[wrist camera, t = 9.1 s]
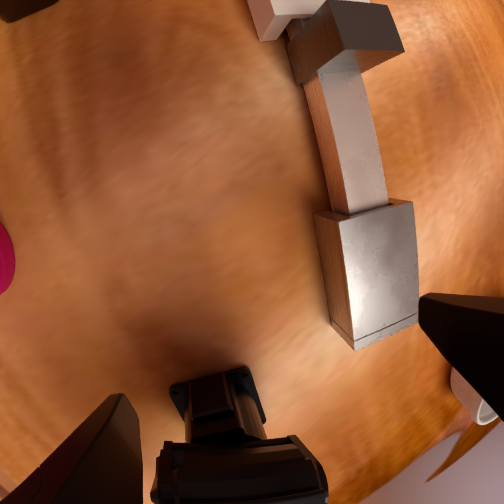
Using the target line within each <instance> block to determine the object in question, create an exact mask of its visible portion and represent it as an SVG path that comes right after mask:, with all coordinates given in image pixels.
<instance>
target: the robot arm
mask: <svg viewBox="0 0 504 504" xmlns="http://www.w3.org/2000/svg"><path fill="white" fill-rule="evenodd" d="M418 323H419V325H420V327H421V329H422V330H423V331H424V332H425V334H426V335H427V336H428V337H429V339H430V340H431V341H432V342H433V344H434V345H435V346H436V348H437V349H438V350H439V351H440V353H441V354H442V355H443V356H444V358H445V359H446V360H447V361H448V362H449V363H450V364H451V365H452V366H453V367H454V368H455V369H456V370H457V372H458V373H459V374H460V375H461V376H462V377H463V378H464V379H465V380H466V381H467V382H468V383H469V384H470V385H471V386H472V388H473V389H474V390H475V391H476V392H477V393H478V394H479V395H480V396H481V397H482V398H483V400H484V401H485V402H486V403H487V404H488V405H489V406H490V407H491V408H492V410H493V411H494V412H495V413H496V414H497V415H498V416H499V417H500V419H501V420H502V421H503V422H504V298H503V297H487V296H472V295H457V294H444V293H427V294H425V295H423V296H421V297H420V298H419V300H418ZM243 372H247V373H246V374H242V373H243ZM174 390H177V391H178V392H174ZM169 394H170V396H171V398H172V400H173V402H174V404H175V406H176V408H177V410H178V411H179V413H180V415H181V417H182V419H183V421H184V422H185V440H186V443H173V442H172V441H164V446H163V449H161V450H160V456H159V457H157V458H156V475H155V479H154V482H153V485H152V489H151V492H150V497H151V501H152V502H153V503H154V504H327V502H328V483H327V478H326V475H325V472H324V470H323V468H322V466H321V464H320V463H319V461H318V460H317V459H316V458H315V457H314V456H313V455H312V453H311V452H310V451H309V450H308V449H307V448H306V446H305V445H304V444H303V443H302V442H301V441H300V440H299V438H298V437H297V436H296V435H289V436H287V437H284V438H275V439H267V436H266V434H265V431H264V428H263V425H262V424H264V423H265V422H266V417H265V414H264V411H263V408H262V405H261V402H260V399H259V396H258V393H257V390H256V387H255V384H254V381H253V378H252V374H251V371H250V369H249V368H248V367H240V368H236V369H233V370H229V371H226V372H222V373H217V374H213V375H209V376H205V377H202V378H198V379H194V380H191V381H188V382H183V383H179V384H175V385H172V386H170V388H169ZM0 504H143V462H142V451H141V441H140V429H139V419H138V416H137V413H136V412H135V410H134V408H133V407H132V405H131V403H130V402H129V400H128V398H127V397H126V395H125V394H123V393H118V394H112V395H110V396H108V397H107V398H106V399H105V400H104V401H103V402H102V404H101V405H100V406H99V407H98V408H97V409H96V410H95V411H94V412H93V413H92V414H91V415H90V416H89V417H88V418H87V419H86V420H85V421H84V422H83V423H82V424H81V425H80V426H79V427H78V428H77V429H76V430H75V431H74V432H73V433H72V434H71V435H70V436H69V437H68V438H67V439H66V440H65V441H64V442H63V443H62V444H61V445H60V446H59V447H58V448H57V449H56V450H55V451H54V452H53V453H52V454H51V455H50V456H49V457H48V458H47V459H46V460H45V461H44V462H43V463H42V464H41V465H40V467H37V468H36V470H35V471H34V472H33V473H32V474H31V475H30V476H28V477H27V478H26V479H25V480H24V481H23V482H22V483H21V484H20V485H19V486H18V487H17V488H15V490H13V491H12V492H11V493H10V494H9V495H7V496H6V497H5V498H4V499H2V500H1V501H0Z"/></svg>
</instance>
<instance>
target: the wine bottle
mask: <svg viewBox="0 0 504 504" xmlns="http://www.w3.org/2000/svg"><path fill="white" fill-rule="evenodd" d="M56 1H57V0H0V18H1V19H2V20H3V21H5V22H7V23H9V22H13V21H15V20H17V19H19V18H21V17H23V16H26V15H28V14H30V13H32V12H35V11H37V10H39V9H42V8H44V7H47V6H49V5H51V4H53V3H55V2H56Z"/></svg>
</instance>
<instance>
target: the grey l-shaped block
mask: <svg viewBox="0 0 504 504" xmlns="http://www.w3.org/2000/svg"><path fill="white" fill-rule="evenodd" d="M286 30H287V33H288V36H289V39H290V43H289V44H288V45H287V46H286V49H287V52H288V56H289V59H290V63H291V66H292V69H293V73H294V76H295V80H296V84H297V86H299V85H303V86H304V90H305V94H306V97H307V101H308V105H309V109H310V113H311V117H312V121H313V125H314V129H315V133H316V137H317V142H318V146H319V150H320V155H321V159H322V164H323V169H324V173H325V178H326V183H327V188H328V193H329V198H330V203H331V209H332V212H333V213H337V214H341V215H344V216H348V217H350V216H353V215H357V214H360V213H364V212H368V211H371V210H375V209H379V208H382V207H386V206H389V203H388V196H387V190H386V184H385V178H384V172H383V166H382V161H381V156H380V150H379V146H378V141H377V136H376V131H375V127H374V123H373V118H372V114H371V110H370V106H369V102H368V98H367V95H366V91H365V87H364V84H363V80H362V77H361V73H363V72H365V71H367V70H369V69H371V68H373V67H375V66H377V65H379V64H381V63H383V62H385V61H387V60H389V59H391V58H393V57H395V56H397V55H399V54H401V53H404V52H405V51H404V48H403V45H402V42H401V39H400V36H399V34H398V31H397V28H396V26H395V23H394V20H393V18H392V15H391V13H390V11H389V8H388V6H387V5H382V4H375V3H366V2H357V1H346V0H326V1H325V2H324V3H323V4H322V5H321V6H320V7H319V9H318V10H317V11H316V12H315V13H314V14H313V15H312V17H311V18H293V19H291V20H290V22H289V23H288V25H287V26H286Z"/></svg>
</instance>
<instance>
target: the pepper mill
mask: <svg viewBox="0 0 504 504" xmlns="http://www.w3.org/2000/svg"><path fill="white" fill-rule="evenodd" d="M14 268H15V257H14V251H13V246H12V243H11V240H10V238H9V236H8V234H7V232H6V230H5V229H4V227H3V226H2V225H1V224H0V294H2V293H3V292H4V291H6V289H7V288H8V287H9V285H10V283H11V281H12V278H13V275H14Z"/></svg>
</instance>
